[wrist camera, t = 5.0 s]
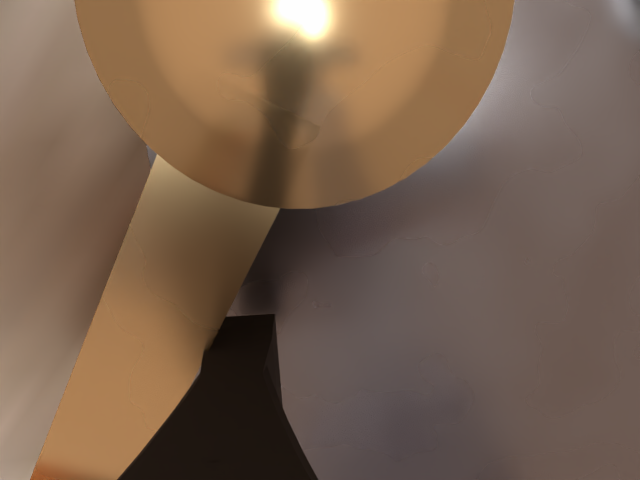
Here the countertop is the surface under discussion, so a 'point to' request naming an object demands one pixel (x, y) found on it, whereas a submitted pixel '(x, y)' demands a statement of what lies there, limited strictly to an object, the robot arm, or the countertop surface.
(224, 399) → the robot arm
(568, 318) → the grey metal plate
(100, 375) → the knob
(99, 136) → the countertop surface
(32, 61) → the countertop surface
